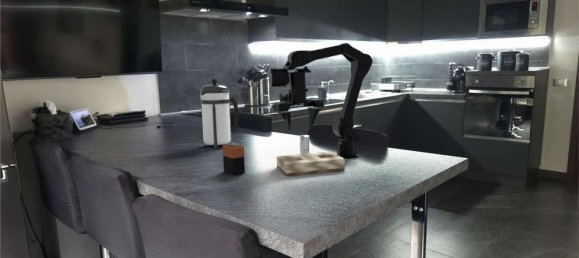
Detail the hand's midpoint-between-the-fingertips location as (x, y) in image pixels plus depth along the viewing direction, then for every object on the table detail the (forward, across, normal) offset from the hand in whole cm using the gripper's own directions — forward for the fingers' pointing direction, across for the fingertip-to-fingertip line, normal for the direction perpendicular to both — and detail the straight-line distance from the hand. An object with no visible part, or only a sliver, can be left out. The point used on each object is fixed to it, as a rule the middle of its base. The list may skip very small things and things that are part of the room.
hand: (300, 128), depth 146 cm
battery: (+11, +28, +4) cm, 30 cm away
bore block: (+12, +4, +13) cm, 18 cm away
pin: (+12, -1, 0) cm, 12 cm away
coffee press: (+11, +18, -44) cm, 49 cm away
